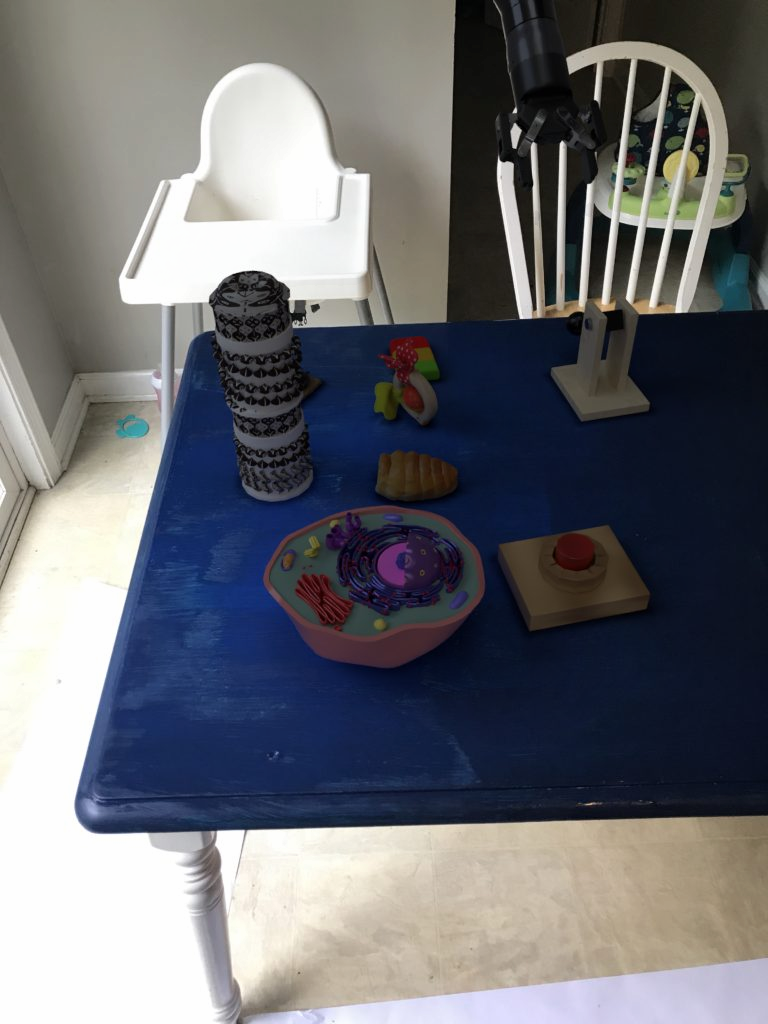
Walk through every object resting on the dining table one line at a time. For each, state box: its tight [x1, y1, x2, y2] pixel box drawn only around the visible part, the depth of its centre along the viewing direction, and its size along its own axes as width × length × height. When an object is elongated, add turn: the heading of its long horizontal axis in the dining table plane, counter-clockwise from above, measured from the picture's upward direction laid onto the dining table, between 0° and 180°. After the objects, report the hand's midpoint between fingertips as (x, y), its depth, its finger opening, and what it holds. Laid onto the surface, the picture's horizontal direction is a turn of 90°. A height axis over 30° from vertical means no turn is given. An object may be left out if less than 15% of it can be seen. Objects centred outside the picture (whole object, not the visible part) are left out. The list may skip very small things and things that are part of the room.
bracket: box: [550, 296, 651, 422], centre depth 104 cm, size 11×9×12 cm
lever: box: [565, 309, 624, 337], centre depth 107 cm, size 13×3×3 cm
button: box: [555, 533, 595, 571], centre depth 81 cm, size 4×4×2 cm
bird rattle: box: [373, 338, 439, 427], centre depth 103 cm, size 6×11×9 cm
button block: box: [497, 524, 651, 632], centre depth 83 cm, size 12×10×4 cm
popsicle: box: [389, 335, 440, 382], centre depth 112 cm, size 6×15×2 cm, turn 9°
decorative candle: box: [208, 270, 314, 503], centre depth 90 cm, size 9×9×25 cm
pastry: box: [374, 449, 459, 502], centre depth 95 cm, size 9×7×4 cm
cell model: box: [262, 505, 486, 669], centre depth 77 cm, size 17×20×11 cm
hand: (560, 185), depth 110 cm, fingers open, 8 cm apart
